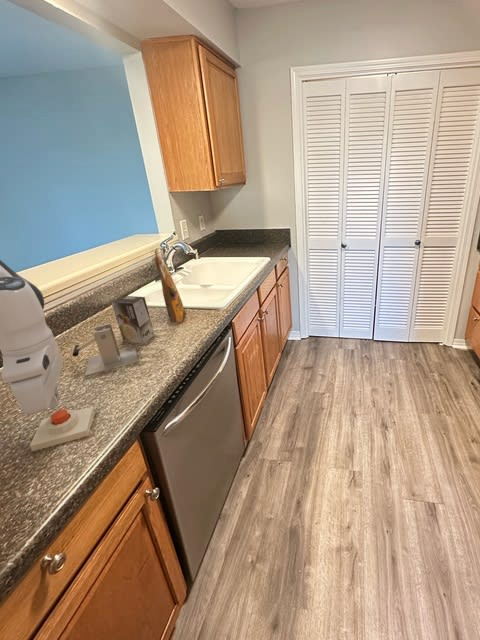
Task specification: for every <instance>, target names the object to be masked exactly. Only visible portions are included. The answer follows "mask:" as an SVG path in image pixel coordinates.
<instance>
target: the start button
mask: <svg viewBox="0 0 480 640" xmlns="http://www.w3.org/2000/svg"><path fill="white" fill-rule="evenodd" d="M67 410H68V409H59V410H57V411H55V412H54V413H52V414H51V415H50V417H51V419H52V422H53V424H55V425H58V424H62V423H63V422H65V421H67V420H68V419H69V414H68V412H67Z"/></svg>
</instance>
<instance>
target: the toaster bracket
mask: <svg viewBox="0 0 480 640" xmlns="http://www.w3.org/2000/svg"><path fill="white" fill-rule="evenodd" d="M104 327H106V328H107V329H104V330H100V329H102V328H104ZM93 328H94V331H93V332H92V334H93V337H95V340H96V341H95V342H96V345H97V348H98V351H99V354H97V355H92V356H89V357H88V359H87V365H86V369H85V377H88V376H89V377H90V376H92V375H96V374H100V373H104V372H108V371H111V370H115V369H119V368H123V367H126V366H130V365H134V364H137V363H138V355H137V346H136V345H134V346H130V347H126V348H122V349H121V348H120V349H119V345H118V343H117V339H116V336H115V332H114V330H113V327H112V323H111V322H110V323H104V324H100V325H95V326H94V327H93Z"/></svg>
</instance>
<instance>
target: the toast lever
mask: <svg viewBox="0 0 480 640" xmlns="http://www.w3.org/2000/svg"><path fill="white" fill-rule="evenodd" d="M104 329H107V328H106V327H104V328H102V329H100V330H104ZM94 342H96V340H95V337H94V336H93V337H91V338H89V340H87V341H86V342H84V343H82V344H80V345H79V344H75V345H74V347H73V351H72V357H75V358H76V357H78V356H79V353H80V351H83V350H84V349H85V348H87V347H89V346H90V345H92V344H93V343H94Z"/></svg>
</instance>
